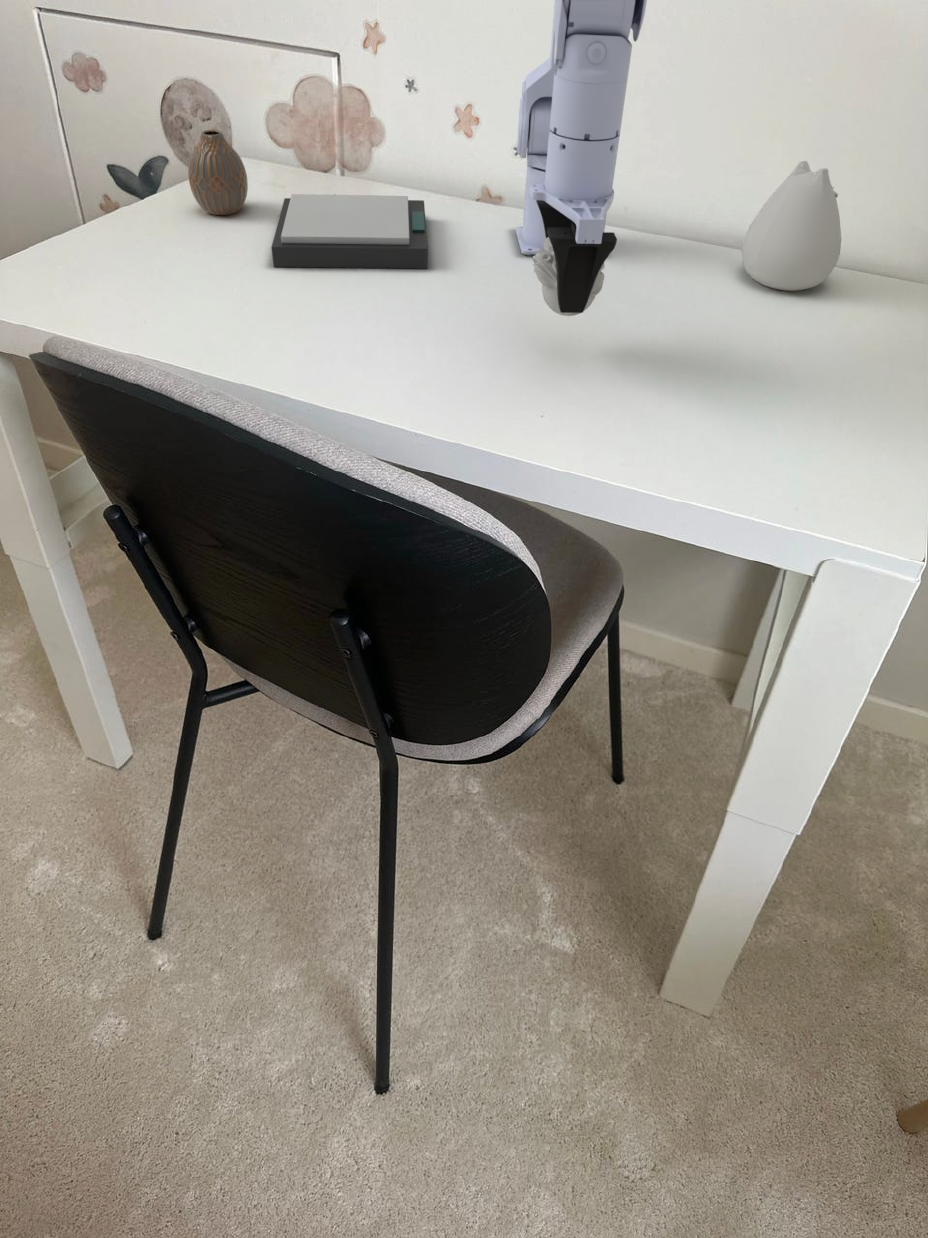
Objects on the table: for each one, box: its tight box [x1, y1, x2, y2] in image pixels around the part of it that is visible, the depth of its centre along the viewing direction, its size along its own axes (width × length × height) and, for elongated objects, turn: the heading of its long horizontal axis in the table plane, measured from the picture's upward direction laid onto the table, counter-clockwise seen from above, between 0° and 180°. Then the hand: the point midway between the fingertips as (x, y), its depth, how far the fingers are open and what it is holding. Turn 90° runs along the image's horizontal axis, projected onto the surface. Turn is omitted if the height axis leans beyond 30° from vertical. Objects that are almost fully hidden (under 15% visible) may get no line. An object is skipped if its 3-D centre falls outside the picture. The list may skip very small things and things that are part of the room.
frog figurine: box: [532, 237, 606, 317], centre depth 80 cm, size 6×7×7 cm
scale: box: [271, 193, 429, 270], centre depth 103 cm, size 17×16×3 cm
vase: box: [187, 129, 249, 216], centre depth 108 cm, size 7×7×9 cm
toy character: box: [741, 160, 842, 292], centre depth 96 cm, size 10×10×12 cm
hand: (565, 295), depth 81 cm, fingers closed on frog figurine, 6 cm apart
